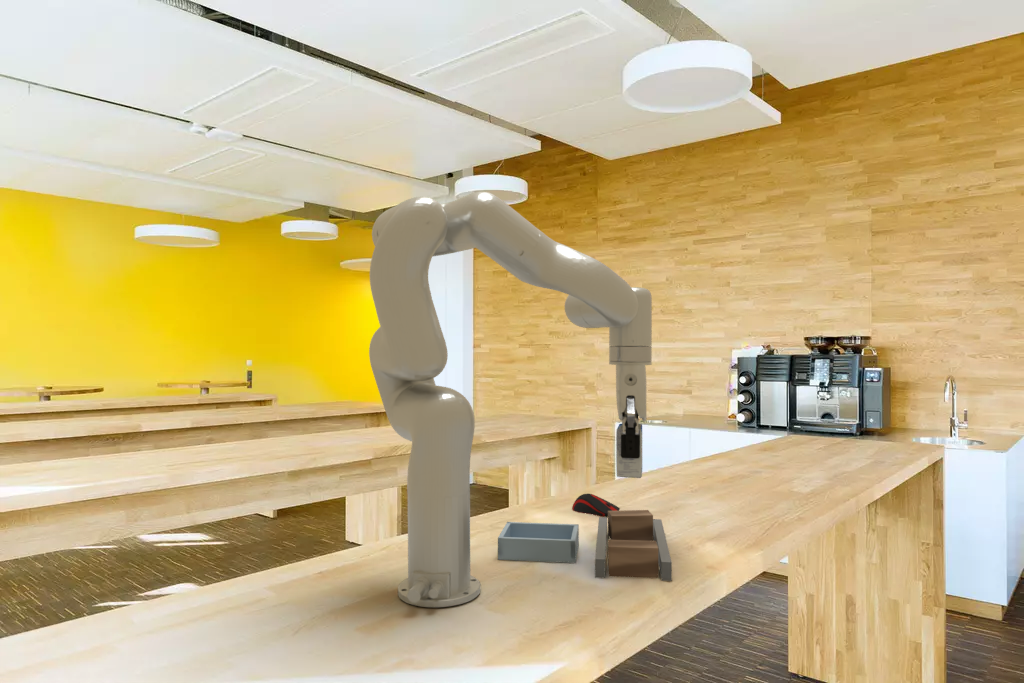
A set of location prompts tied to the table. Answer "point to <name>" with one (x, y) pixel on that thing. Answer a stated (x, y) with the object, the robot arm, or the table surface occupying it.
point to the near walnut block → (632, 558)
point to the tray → (539, 542)
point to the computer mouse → (593, 505)
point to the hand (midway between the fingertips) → (629, 453)
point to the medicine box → (628, 465)
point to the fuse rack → (659, 537)
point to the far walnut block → (630, 525)
